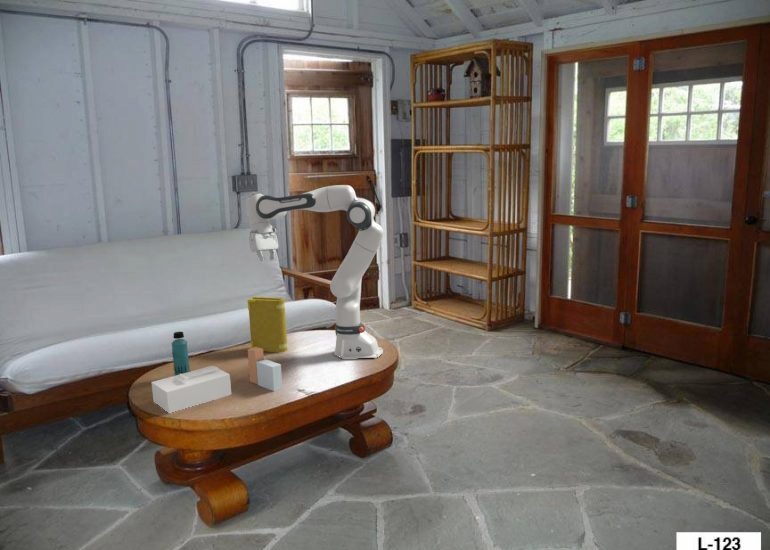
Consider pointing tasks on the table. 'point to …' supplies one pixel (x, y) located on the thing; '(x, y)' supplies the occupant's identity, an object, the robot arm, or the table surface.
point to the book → (268, 323)
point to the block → (254, 362)
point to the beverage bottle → (180, 354)
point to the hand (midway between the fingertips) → (267, 260)
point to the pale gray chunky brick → (269, 374)
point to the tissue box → (191, 388)
